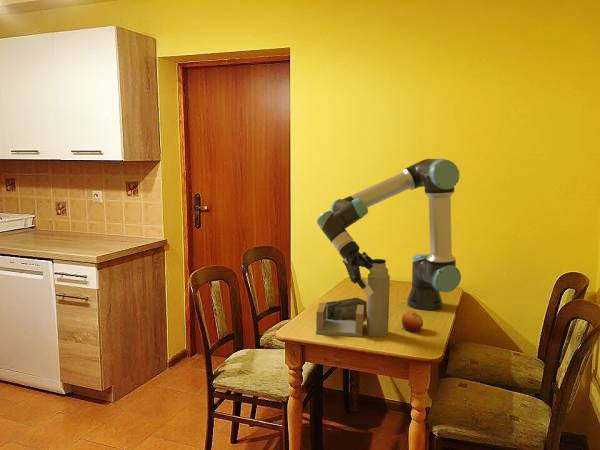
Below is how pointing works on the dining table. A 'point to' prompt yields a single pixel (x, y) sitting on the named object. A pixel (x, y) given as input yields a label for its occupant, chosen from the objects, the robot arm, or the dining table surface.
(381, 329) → the thermos bottle
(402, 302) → the dining table surface
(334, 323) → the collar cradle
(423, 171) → the robot arm
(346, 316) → the beverage carton
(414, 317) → the fruit
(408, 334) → the dining table surface
